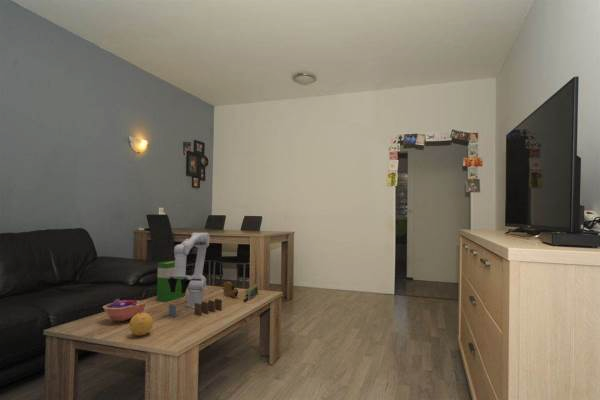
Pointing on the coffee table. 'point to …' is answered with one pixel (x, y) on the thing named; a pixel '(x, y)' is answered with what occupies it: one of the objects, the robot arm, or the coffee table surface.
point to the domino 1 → (172, 310)
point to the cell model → (124, 309)
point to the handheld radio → (251, 292)
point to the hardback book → (167, 283)
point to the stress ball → (141, 324)
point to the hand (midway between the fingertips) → (178, 292)
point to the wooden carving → (229, 289)
